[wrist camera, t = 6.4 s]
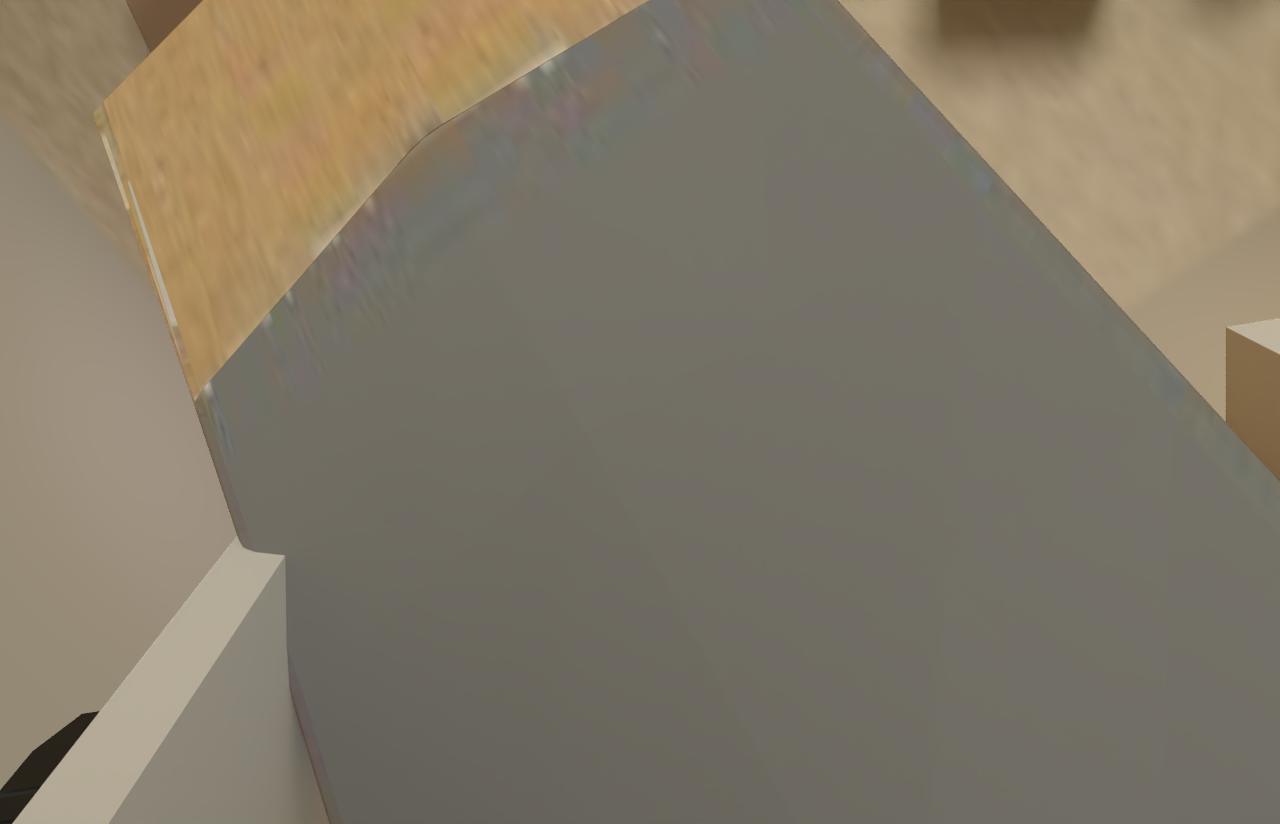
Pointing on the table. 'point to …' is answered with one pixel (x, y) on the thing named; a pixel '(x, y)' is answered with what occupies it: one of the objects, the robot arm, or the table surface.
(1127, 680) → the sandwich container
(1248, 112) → the table surface
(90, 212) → the table surface
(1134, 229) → the table surface
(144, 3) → the walnut cube
